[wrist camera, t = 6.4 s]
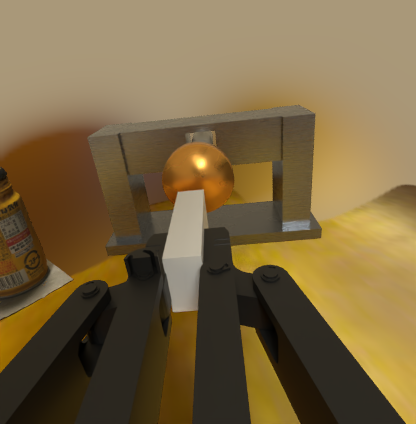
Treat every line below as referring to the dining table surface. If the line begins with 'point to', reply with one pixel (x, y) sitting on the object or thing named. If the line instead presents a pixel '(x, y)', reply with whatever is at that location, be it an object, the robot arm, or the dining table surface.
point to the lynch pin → (199, 171)
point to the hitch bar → (237, 154)
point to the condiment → (22, 256)
